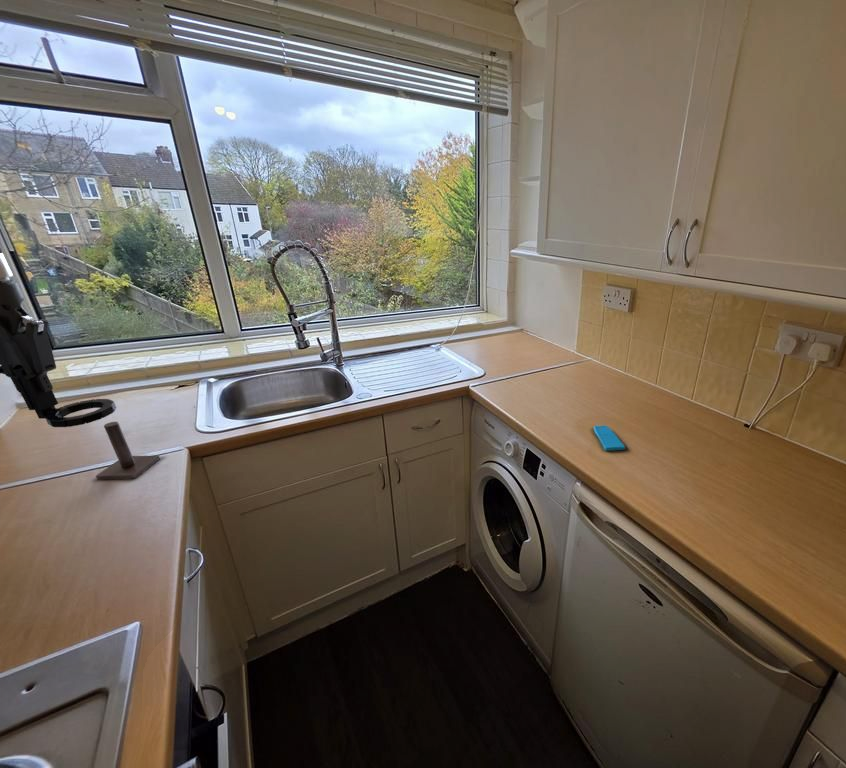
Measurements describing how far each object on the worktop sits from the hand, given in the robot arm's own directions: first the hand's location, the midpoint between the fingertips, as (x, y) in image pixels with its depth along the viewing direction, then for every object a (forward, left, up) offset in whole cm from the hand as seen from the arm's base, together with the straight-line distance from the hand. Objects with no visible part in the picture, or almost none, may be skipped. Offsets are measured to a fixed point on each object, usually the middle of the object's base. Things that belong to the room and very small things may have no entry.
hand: (44, 406), depth 77 cm
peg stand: (0, +11, -22) cm, 24 cm away
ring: (+5, 0, -2) cm, 6 cm away
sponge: (+118, +20, -22) cm, 122 cm away
